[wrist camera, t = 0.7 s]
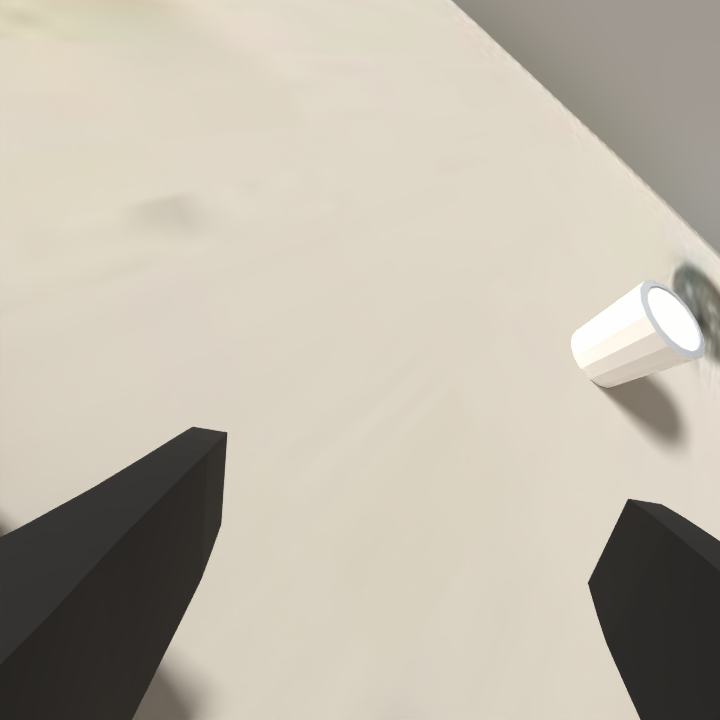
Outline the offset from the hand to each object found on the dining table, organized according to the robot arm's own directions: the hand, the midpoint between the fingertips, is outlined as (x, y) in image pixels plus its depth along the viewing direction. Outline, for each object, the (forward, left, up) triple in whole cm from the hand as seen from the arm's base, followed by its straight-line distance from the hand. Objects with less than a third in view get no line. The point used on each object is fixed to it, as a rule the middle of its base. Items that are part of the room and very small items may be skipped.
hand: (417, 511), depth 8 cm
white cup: (+31, -14, -15) cm, 38 cm away
